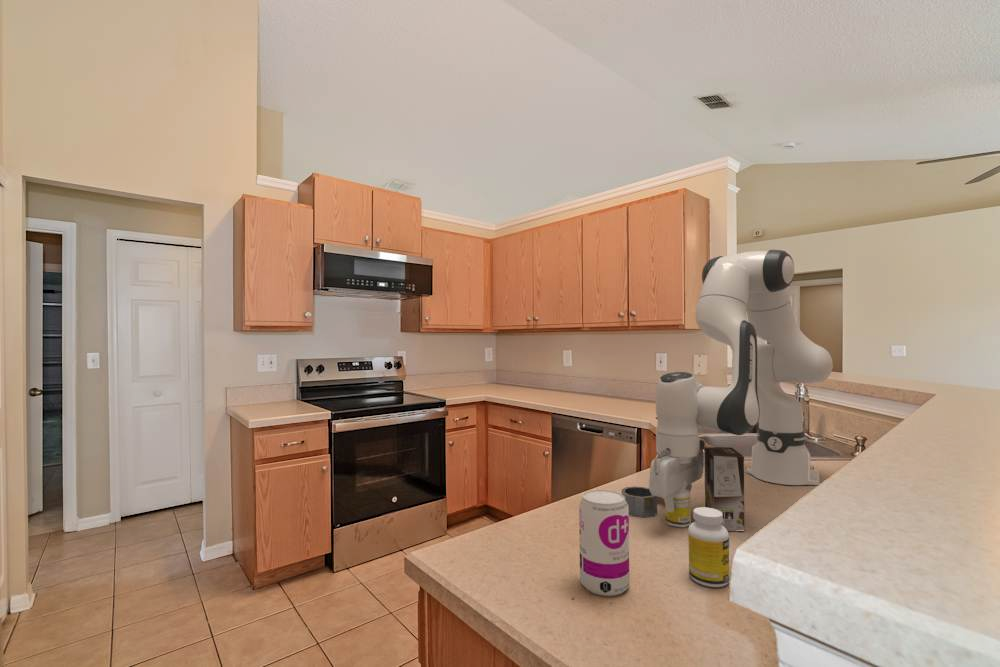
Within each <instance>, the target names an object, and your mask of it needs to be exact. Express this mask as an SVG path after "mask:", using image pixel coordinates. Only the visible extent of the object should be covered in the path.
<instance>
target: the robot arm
mask: <svg viewBox="0 0 1000 667" xmlns="http://www.w3.org/2000/svg"><path fill="white" fill-rule="evenodd" d="M794 278H795V263H794V260H793V257H792V256H791V255H790V254H789V253H788V252H787V251H785V250H780V249H769V250H755V251H753V250H751V251H743V252H739V253H734V254H730V255H725V256H722V255H719V256H716V257H713V258H710V259H709V260H708V261H707V262H706V263H705V265H704V266H703V268H702V271H701V280H702V287H701V289H700V293H699V296H698V301H697V305H696V309H695V322H696V324H697V326H698V328H699V330H701V331H702V332H703V333H704V334H705V335H706V336H708V337H710V338H711V339H713V340H716V341H718V342H720V343H722V344H725V345H727V346H729V347H730V349H731V353H732V357H731V358H732V359H731V361H732V362H731V363H732V364H731V366H732V367H731V382H730V385H728V386H727V387H723V386H722V387H721V386H710V385H705V384H704V385H703V384H702V383H699V382H698V381H696V380H695V377H694V374H692V373H689V372H687V371H676V372H668V373H665V374H662V375H661V376H660V377H659V378H658V381H657V386H656V393H655V414H656V417H657V425H656V428H655V449H656V450H655V451H656V456H655V458H654V459H653V460H652V461H651V463H650V468H649V474H650V478H649V477H648V483H649V484H648V488H649V490H650V493H651V494H652V495H654V496H657V498H658V497H659V498H662V499H663V501H664V510H665V509H666V511H668V512H674V511H675V510H676V503H674V499H673V497H674V493H675V492H677V491H679V490H680V489H682V488H683V487H684V482H685V481H686V483H687V487H686V489H688V490H689V492H690V493H691V491H692V484H693V483H695V482H697V481H698V480H700V479H702V477H703V474H704V470H705V467H704V449H705V447H707V446H706V444H707V442H706V439H703V438H701V437H699V432H698V431H699V430H698V428H697V427H701V428H705V429H710V430H717V431H722V432H724V433H727V434H732V435H736V436H742V435H745V434H746V433H748V432H750V431H752V429H754V428H755V427H756V426H757V425H758V427H757V430H756V437H757V442H756V443H755V444H754V445H752V446H751V447H752V448H751V465H750V467H747V468H746V469H745V473H747V474H749V475H752V476H753V477H755V478H756V479H758V480H761V481H764V482H767V483H768V482H769V483H772V484H777V485H787V486H805V485H808V486H809V485H810V486H819V484H820V485H821V481H820V480H821V479H820V478H821V477H820V469H819V468H815V466H814V465H812V464H811V453H810V451H809V449H808V447H807V446H806V434H805V429H804V418H803V414H804V413H803V412H804V410H803V405H802V403H801V402H800V401H799V400H798V399H797V398H796V397H794V396H792V395H790V394H788V393H786V392H785V391H784V389H783V387H781V385H780V383H788V384H789V383H790V384H791V383H794V384H812V383H820V382H824V381H826V380H827V379H828V378H829V377H830V376H831V374H832V371H833V368H834V362H833V358H832V355H831V354H830V352H829V351H828V350H827V349H826V348H825V347H823V346H821V345H819V344H817V343H815V342H813V341H812V340H811V339H810V338H808V337H807V336H806V335H805V334H804V333H803V331H802V330H801V329H800V328H799V326H798V324H797V321H796V319H795V316H794V311H793V307H792V302H791V297H790V292H789V289H788V287H789V286H790V285H791V283H793V281H794ZM758 338H759V339H761V340H764V341H766V342H767V343H769V344H767V343H766V344H765V343H761V344H760V343H759V344H758Z"/></svg>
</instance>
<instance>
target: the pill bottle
mask: <svg viewBox="0 0 1000 667" xmlns="http://www.w3.org/2000/svg"><path fill="white" fill-rule="evenodd" d="M692 516H693V520H694V522H691V524H690V525H689V526H688V529H687V532H688V574H689V576H690V578H691V579H692V580H693V581H694V582H695V583H698V584H700V585H702V586H704V587H709V588H721V587H724V586H726V585H728V584H729V582H730V535H729V531H727V530H726V528H725V527H723V526H722V525H721V523H722V522H723V514H722V512H721V511H719V510H716V509H713V508H707V507H705V506H701V507H696V508H694V509H693V515H692Z"/></svg>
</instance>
